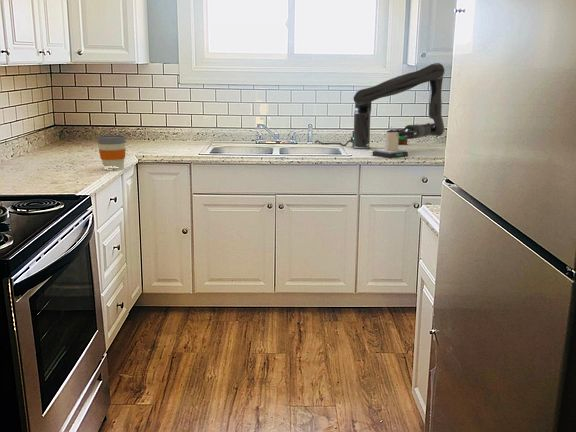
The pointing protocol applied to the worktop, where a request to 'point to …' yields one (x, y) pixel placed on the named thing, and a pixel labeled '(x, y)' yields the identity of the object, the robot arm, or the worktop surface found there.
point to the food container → (401, 138)
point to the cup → (392, 141)
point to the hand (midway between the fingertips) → (393, 133)
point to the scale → (389, 153)
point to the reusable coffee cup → (112, 150)
